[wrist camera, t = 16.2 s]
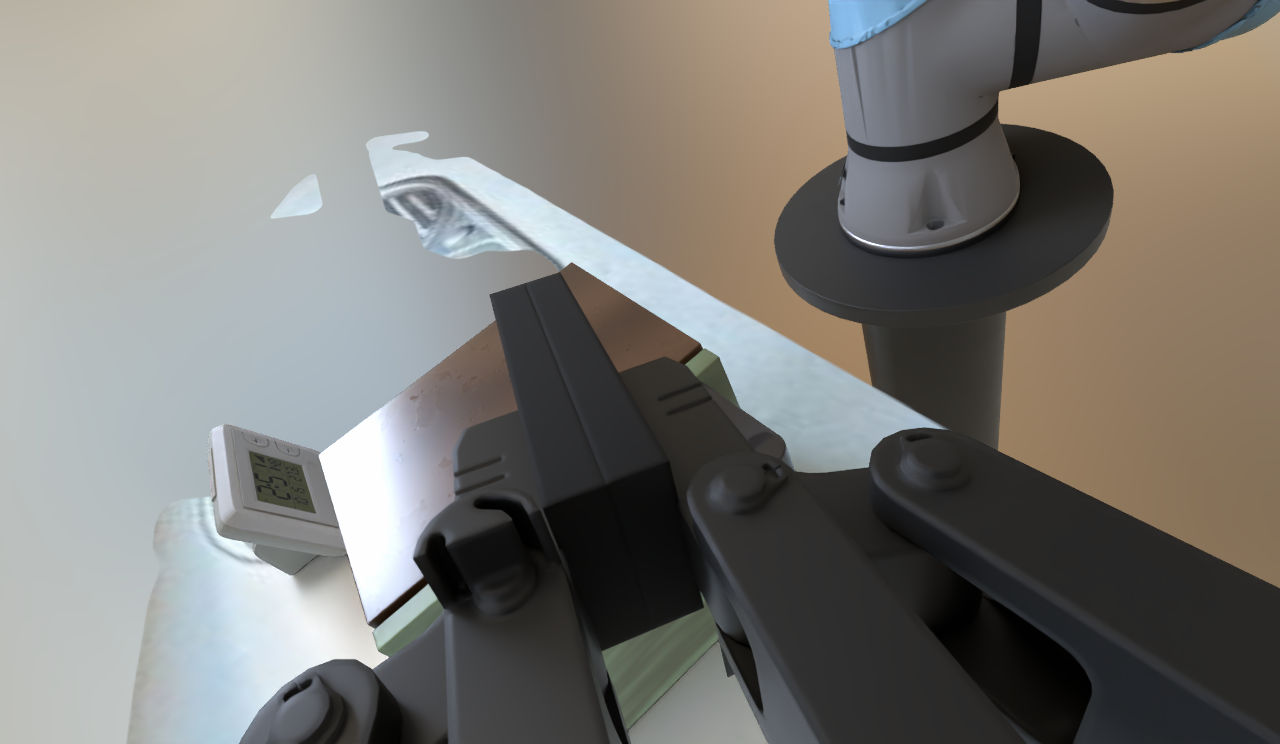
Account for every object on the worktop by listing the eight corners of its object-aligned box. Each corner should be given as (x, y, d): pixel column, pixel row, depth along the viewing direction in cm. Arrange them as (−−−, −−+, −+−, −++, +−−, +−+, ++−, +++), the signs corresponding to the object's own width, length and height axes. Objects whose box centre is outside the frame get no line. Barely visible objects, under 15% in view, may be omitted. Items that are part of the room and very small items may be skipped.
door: (873, 616, 33) (816, 417, 21) (647, 857, 30) (418, 789, 17) (790, 545, 38) (704, 347, 25) (586, 747, 34) (371, 631, 22)
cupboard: (789, 545, 38) (700, 343, 25) (585, 744, 35) (367, 625, 22) (678, 448, 47) (571, 261, 34) (507, 599, 43) (317, 455, 31)
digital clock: (363, 555, 52) (268, 493, 45) (273, 615, 51) (162, 561, 44) (354, 442, 64) (278, 378, 57) (281, 489, 63) (194, 430, 56)
